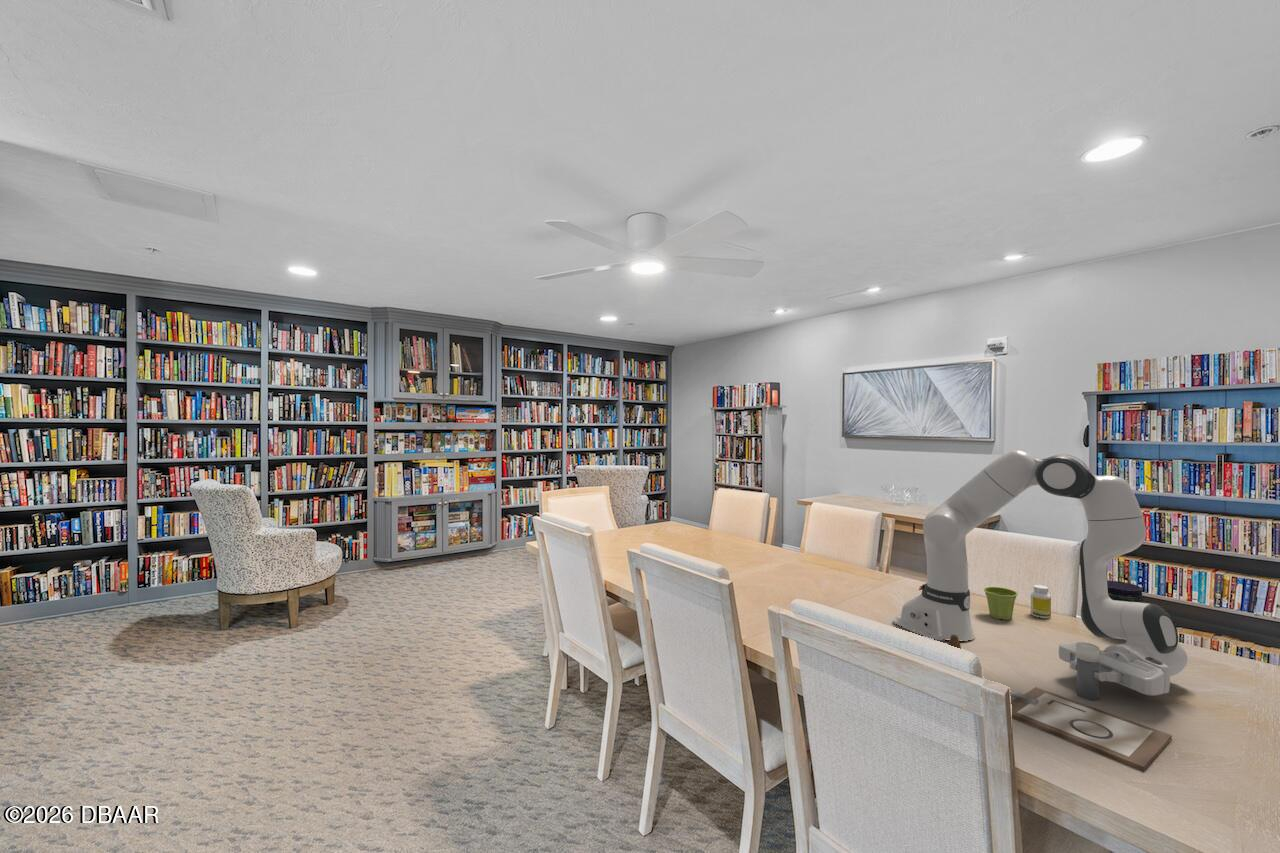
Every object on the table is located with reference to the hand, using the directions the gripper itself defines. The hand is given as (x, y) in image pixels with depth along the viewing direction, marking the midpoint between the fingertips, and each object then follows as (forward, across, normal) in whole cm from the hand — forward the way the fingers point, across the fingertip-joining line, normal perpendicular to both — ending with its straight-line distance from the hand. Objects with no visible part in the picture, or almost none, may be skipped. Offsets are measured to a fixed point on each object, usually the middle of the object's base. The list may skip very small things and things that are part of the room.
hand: (1084, 671), depth 127 cm
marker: (-1, 0, +6) cm, 6 cm away
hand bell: (+32, -6, +6) cm, 33 cm away
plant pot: (-28, -45, +6) cm, 53 cm away
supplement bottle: (-41, -42, +6) cm, 59 cm away
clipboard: (+13, +9, +6) cm, 17 cm away
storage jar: (-49, -24, +6) cm, 55 cm away
